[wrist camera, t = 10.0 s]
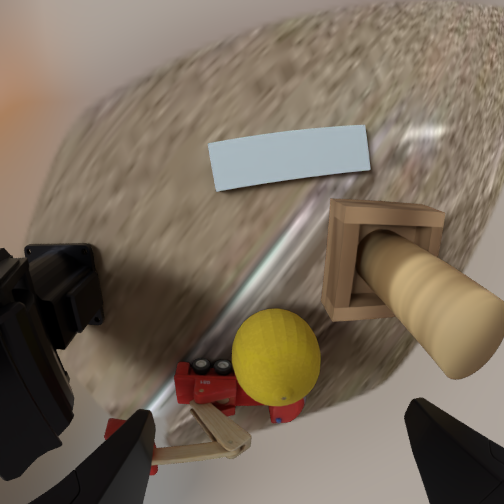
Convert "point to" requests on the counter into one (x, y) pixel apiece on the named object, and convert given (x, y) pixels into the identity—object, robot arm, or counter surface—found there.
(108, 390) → the counter surface
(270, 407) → the toy fire truck
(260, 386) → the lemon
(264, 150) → the plate
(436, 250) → the square wooden tray
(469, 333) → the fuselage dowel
